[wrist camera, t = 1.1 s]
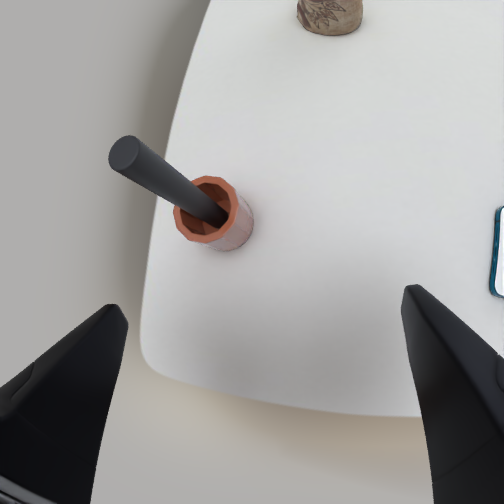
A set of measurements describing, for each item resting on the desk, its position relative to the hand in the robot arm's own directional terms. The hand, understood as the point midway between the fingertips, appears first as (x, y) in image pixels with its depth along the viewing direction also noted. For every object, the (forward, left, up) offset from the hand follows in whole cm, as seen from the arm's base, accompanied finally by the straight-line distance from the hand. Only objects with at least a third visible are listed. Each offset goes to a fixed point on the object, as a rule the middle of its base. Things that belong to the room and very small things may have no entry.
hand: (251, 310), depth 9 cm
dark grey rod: (+7, +3, -14) cm, 16 cm away
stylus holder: (+7, +3, -14) cm, 16 cm away
